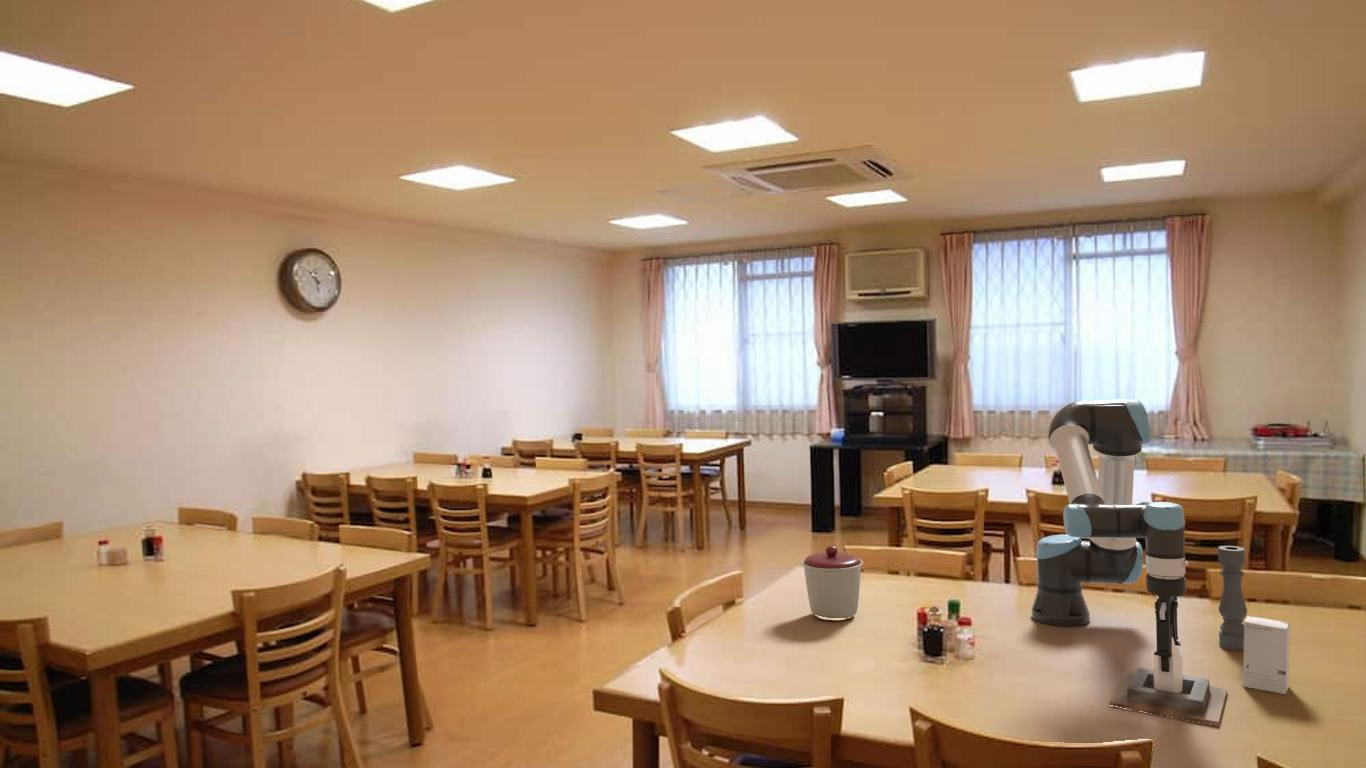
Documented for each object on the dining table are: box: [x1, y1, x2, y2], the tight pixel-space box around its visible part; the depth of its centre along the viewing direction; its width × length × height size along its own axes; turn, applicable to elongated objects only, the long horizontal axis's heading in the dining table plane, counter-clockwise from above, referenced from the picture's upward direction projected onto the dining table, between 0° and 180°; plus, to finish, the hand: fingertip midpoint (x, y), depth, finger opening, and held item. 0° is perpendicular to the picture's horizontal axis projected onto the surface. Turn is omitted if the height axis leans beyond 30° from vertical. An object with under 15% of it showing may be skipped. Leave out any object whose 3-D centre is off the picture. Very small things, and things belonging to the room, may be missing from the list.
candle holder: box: [1217, 545, 1248, 652], centre depth 218 cm, size 6×6×25 cm
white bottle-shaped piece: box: [1153, 637, 1184, 693], centre depth 189 cm, size 6×12×6 cm
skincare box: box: [1242, 615, 1291, 695], centre depth 193 cm, size 8×6×15 cm
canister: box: [801, 545, 864, 618], centre depth 258 cm, size 18×18×21 cm
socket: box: [1109, 667, 1228, 727], centre depth 189 cm, size 20×20×4 cm
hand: (1168, 680), depth 189 cm, fingers closed on white bottle-shaped piece, 6 cm apart
